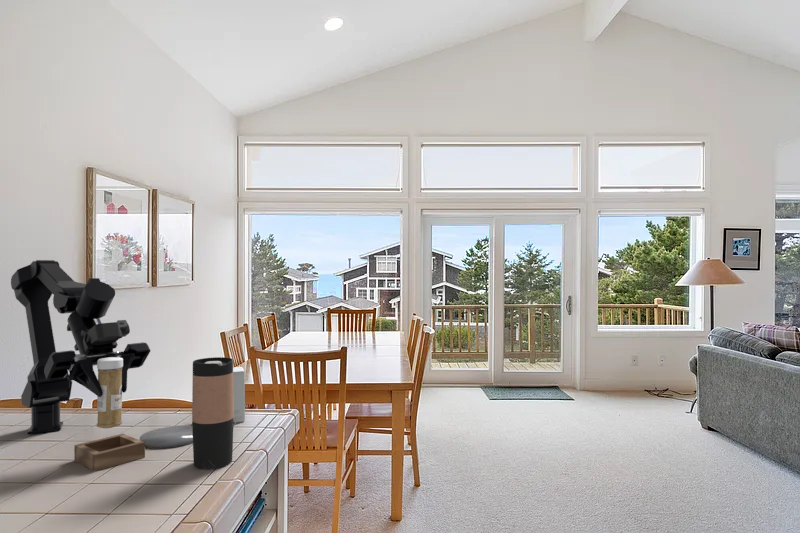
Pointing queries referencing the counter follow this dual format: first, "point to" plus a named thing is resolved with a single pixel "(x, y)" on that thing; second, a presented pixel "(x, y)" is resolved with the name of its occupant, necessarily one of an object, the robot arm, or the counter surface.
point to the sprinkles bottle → (110, 392)
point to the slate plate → (168, 437)
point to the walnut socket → (109, 451)
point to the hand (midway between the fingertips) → (113, 393)
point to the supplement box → (239, 394)
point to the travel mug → (212, 412)
